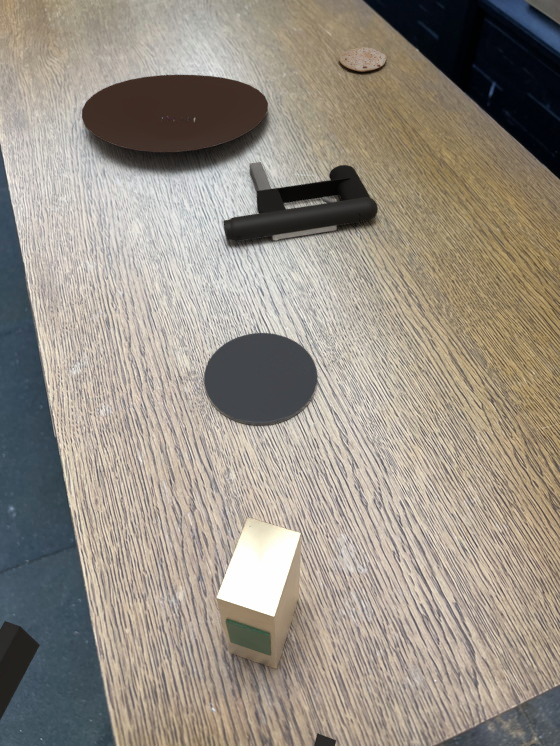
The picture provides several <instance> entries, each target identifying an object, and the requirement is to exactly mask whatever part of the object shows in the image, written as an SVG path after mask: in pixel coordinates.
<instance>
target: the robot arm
mask: <svg viewBox="0 0 560 746" xmlns="http://www.w3.org/2000/svg"><path fill="white" fill-rule="evenodd" d="M40 646H41V645H40V643H38V641H37V640H35V639H34V637H32V636H31V635H30V634H29V633H28V632H27V631H26V630H25V629H24V628H23V627H22V626H20V625H18V624H16V623H12V622H9V621H6V620H4V622H3V623H2V626H1V627H0V721H1V720H2V718H3V716H4V714H5V712H6V711H7V708H8V706H9V705H10V703H11V701H12V699H13V697H14V695H15V694H16V691H18V690H17V689H18V687H20V684H21V682H22V680H23V678H24V676H25V674H26V672H27V671H28V669H29V666H30V665H31V663H32V661H33V659H34V658H35V656H36V654H37V651H38V649H40ZM336 743H337V739H335V738H331V737H330V736H326V735H324V734H321V733H317V734H316V736H315V741H314V744H313V746H336Z"/></svg>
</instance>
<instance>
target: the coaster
mask: <svg viewBox="0 0 560 746" xmlns="http://www.w3.org/2000/svg"><path fill="white" fill-rule="evenodd" d="M203 382H204V383H203V384H204V391H205V394H206V396H207V398H208V400H209V402H210V403H211V405H212V406H213V407H214V409H216V410H217V412H219V413H220V414H221V415H222V416H225V417H226V418H228V419H229V420H232V421H233V422H237V423H240V424H243V425H249V426H259V427H260V426H272V425H276V424H280V423H283V422H285V421H289V420H290V419H291V418H294V417H295V416H297V415H298V414H300V413H301V412H302V411H303V410H304V409H305V408H306V407H307V406H308V405H309V404H310V402H311V401H312V400H313V398H314V395H315V393H316V390H317V385H318V370H317V366H316V363H315V361H314V359H313V357H312V356H311V354H310V353H309V352H308V351H307V349H306V348H305V347H304V346H303V345H301V344H299V343H298V342H297V341H295V340H293V339H292V338H289V337H286V336H284V335H280V334H276V333H272V332H271V333H270V332H255V333H248V334H243V335H240V336H237V337H235V338H232V339H230V340H228V341H227V342H225V343H224V344H223V345H221V346H220V347H219V348H218V349H217V350H215V351H214V353H213V354H212V355H211V357H210V358H209V360H208V362H207V363H206V366H205V370H204V376H203Z"/></svg>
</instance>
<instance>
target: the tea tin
mask: <svg viewBox="0 0 560 746" xmlns="http://www.w3.org/2000/svg"><path fill="white" fill-rule="evenodd" d="M302 537H303V536H302V532H300V531H297V530H295V529H294V530H293V529H290V528H288V527H287V528H286V527H284V526H280V525H277V524H273V523H270V522H267V521H264V520H261V519H256V518H253V517H249V516H247V517H246V519H245V521H244V523H243V526H242V528H241V531H240V534H239V536H238V540H237V542H236V545H235V547H234V550H233V553H232V555H231V558H230V561H229V562H228V566H227V568H226V571H225V574H224V576H223V577H222V581H221V584H220V586H219V589H218V592H217V594H216V597H215V598H216V599H215V600H216V603H217V608H218V611H219V615H220V619H221V623H222V627H223V630H224V634H225V638H226V643H227V646H228V650H229V653H230V654H232V655H234V656H238V657H241V658H243V659H246V660H249V661H252V662H255V663H258V664H261V665H263V666H266V667H269V668H272V669H275V670H278V667H279V664H280V661H281V658H282V654H283V651H284V647H285V645H286V642H287V637H288V634H289V631H290V627H291V624H292V621H293V618H294V614H295V612H296V608H297V606H298V605H297V604H298V602H299V598H300V582H301V581H300V578H301V577H300V576H301V557H302Z"/></svg>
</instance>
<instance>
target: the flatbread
mask: <svg viewBox="0 0 560 746" xmlns="http://www.w3.org/2000/svg"><path fill="white" fill-rule="evenodd" d="M387 59H388V57H387V54H386V53H382V52H381V51H379V50H377V49H375V48H372V47H369V46H368V47H366V46H365V47H356V48H352V49H347V50H345V51H344V52H342V53H340V54H339V56H338V61H339V62H340V64H341V65H342V66H344V67H345V68H347V69H349V70H352V71H356V72H361V73H362V72H363V73H364V72H369V71H374V70H376V69H379V68H381V67H383V66H384V65H385V64H386V63H387Z"/></svg>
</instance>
